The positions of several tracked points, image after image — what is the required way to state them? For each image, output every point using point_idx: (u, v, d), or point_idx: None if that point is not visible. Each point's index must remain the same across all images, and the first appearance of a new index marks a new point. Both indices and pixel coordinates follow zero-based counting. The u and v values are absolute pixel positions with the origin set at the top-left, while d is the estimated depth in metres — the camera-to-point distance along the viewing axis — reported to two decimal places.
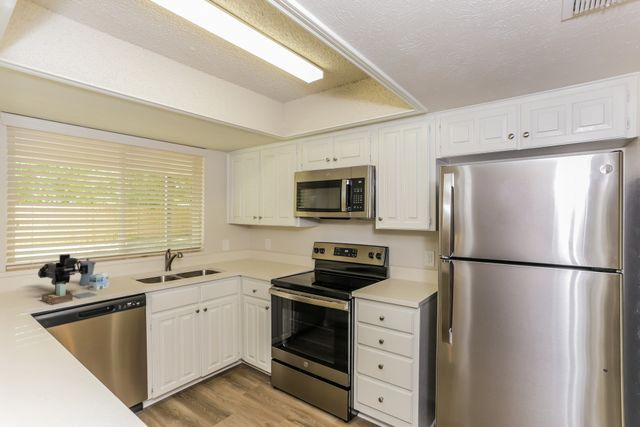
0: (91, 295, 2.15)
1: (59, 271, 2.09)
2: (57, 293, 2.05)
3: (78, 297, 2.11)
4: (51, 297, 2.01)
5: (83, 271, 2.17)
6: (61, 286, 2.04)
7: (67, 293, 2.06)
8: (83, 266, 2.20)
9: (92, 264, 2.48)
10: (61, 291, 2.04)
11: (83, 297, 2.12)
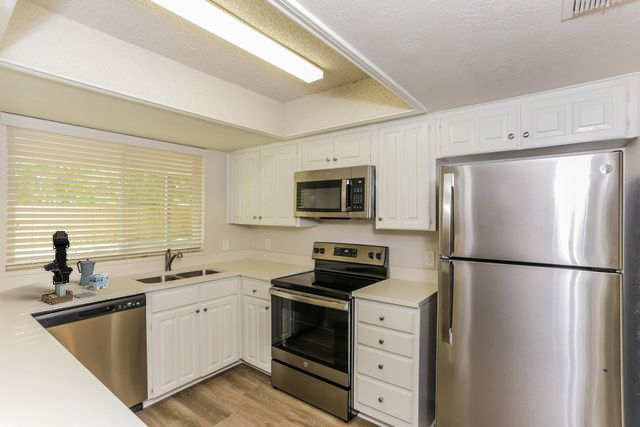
0: (91, 295, 2.15)
1: None
2: (57, 293, 2.05)
3: (78, 297, 2.11)
4: (50, 297, 2.01)
5: None
6: (61, 286, 2.04)
7: (67, 293, 2.06)
8: (60, 274, 2.01)
9: (92, 264, 2.48)
10: (61, 291, 2.04)
11: (83, 297, 2.12)
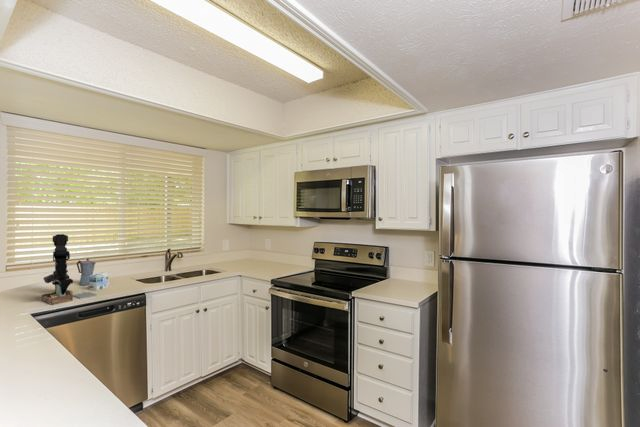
0: (91, 295, 2.15)
1: None
2: (57, 293, 2.05)
3: (78, 297, 2.11)
4: (51, 297, 2.01)
5: None
6: None
7: (67, 293, 2.06)
8: (59, 285, 2.02)
9: (92, 264, 2.48)
10: None
11: (83, 297, 2.12)
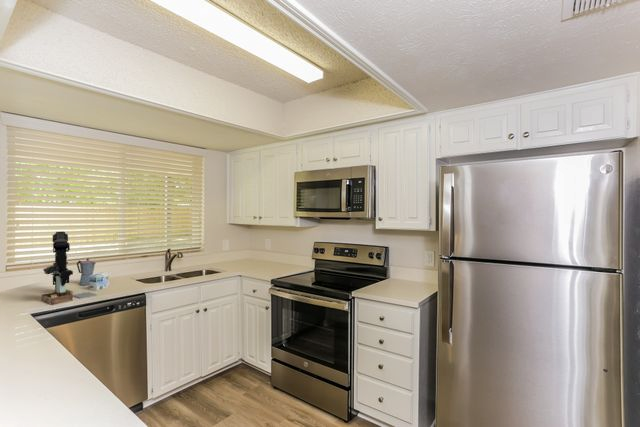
0: (91, 295, 2.15)
1: None
2: (57, 284, 2.05)
3: (78, 297, 2.11)
4: (51, 297, 2.02)
5: None
6: None
7: (67, 293, 2.06)
8: None
9: (92, 264, 2.48)
10: None
11: (83, 297, 2.12)
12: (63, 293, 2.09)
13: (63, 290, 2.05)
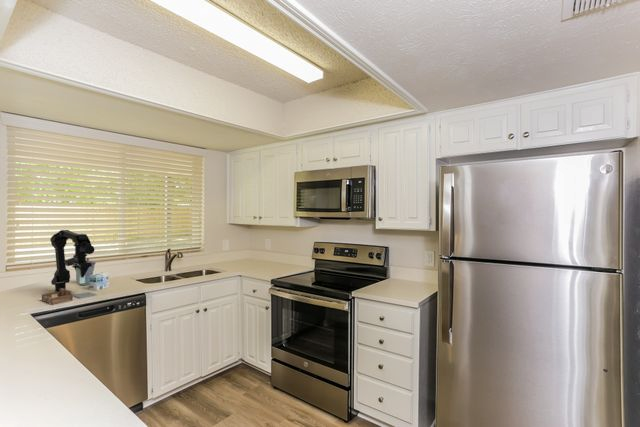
0: (91, 295, 2.15)
1: None
2: (77, 276, 2.14)
3: (78, 297, 2.11)
4: None
5: None
6: None
7: (67, 293, 2.06)
8: (79, 268, 2.11)
9: (92, 264, 2.48)
10: None
11: (83, 297, 2.12)
12: (63, 293, 2.09)
13: (82, 281, 2.14)
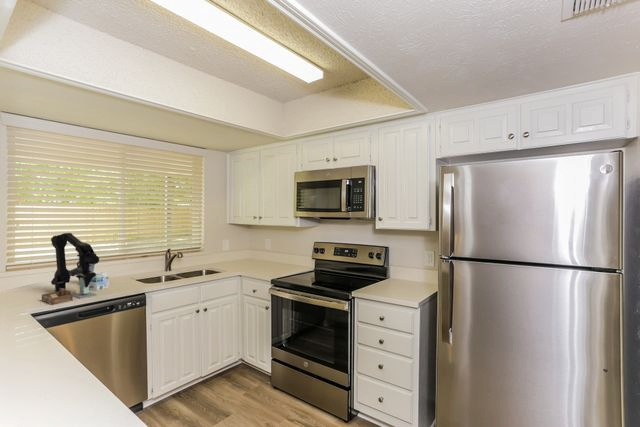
0: (91, 295, 2.15)
1: None
2: (81, 286, 2.16)
3: (78, 297, 2.11)
4: (51, 297, 2.01)
5: None
6: None
7: (67, 293, 2.06)
8: (83, 278, 2.13)
9: (92, 264, 2.48)
10: (84, 284, 2.15)
11: (83, 297, 2.12)
12: (63, 293, 2.09)
13: (86, 291, 2.16)
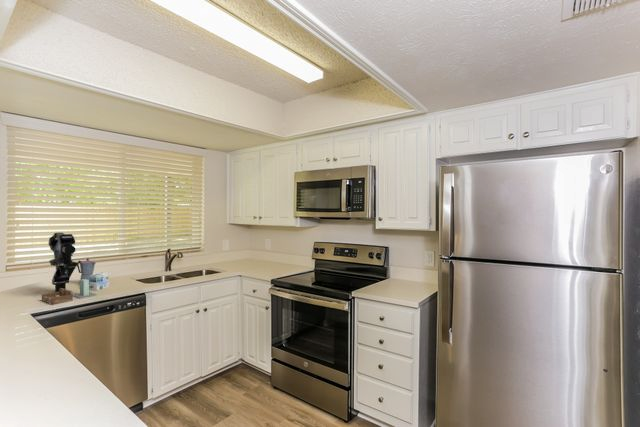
0: (91, 295, 2.15)
1: None
2: (81, 288, 2.16)
3: (78, 297, 2.11)
4: None
5: None
6: (85, 281, 2.15)
7: (67, 293, 2.06)
8: (65, 268, 2.11)
9: (92, 264, 2.48)
10: (85, 286, 2.15)
11: (83, 297, 2.12)
12: (63, 293, 2.09)
13: (86, 293, 2.16)
